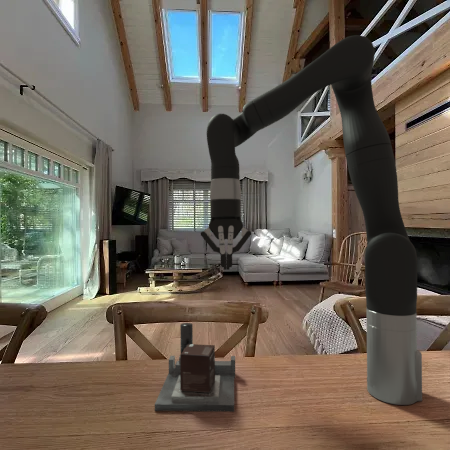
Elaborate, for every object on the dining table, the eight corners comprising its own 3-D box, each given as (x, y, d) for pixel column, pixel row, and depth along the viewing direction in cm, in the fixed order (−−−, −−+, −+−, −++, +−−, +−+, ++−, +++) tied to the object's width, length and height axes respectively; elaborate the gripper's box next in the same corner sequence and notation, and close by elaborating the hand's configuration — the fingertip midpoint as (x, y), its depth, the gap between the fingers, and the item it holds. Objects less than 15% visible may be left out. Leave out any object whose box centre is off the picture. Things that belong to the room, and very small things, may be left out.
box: (209, 393, 63) (209, 355, 63) (179, 391, 64) (179, 354, 64) (215, 379, 69) (215, 344, 69) (188, 377, 70) (188, 343, 70)
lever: (193, 358, 77) (193, 322, 77) (192, 364, 74) (192, 326, 74) (181, 358, 77) (181, 322, 77) (179, 364, 74) (178, 326, 74)
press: (235, 373, 76) (235, 355, 76) (235, 411, 60) (235, 389, 60) (170, 372, 77) (170, 355, 77) (154, 410, 61) (154, 388, 61)
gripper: (251, 199, 83) (252, 267, 83) (200, 200, 83) (200, 267, 83) (253, 196, 75) (254, 271, 75) (197, 197, 76) (198, 271, 75)
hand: (226, 269), depth 79 cm, fingers closed
